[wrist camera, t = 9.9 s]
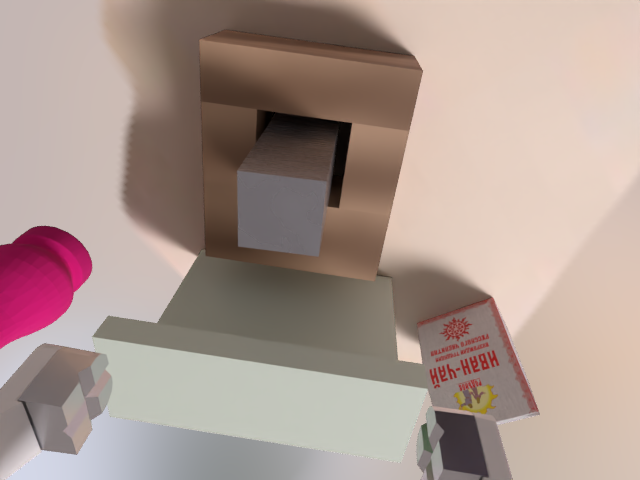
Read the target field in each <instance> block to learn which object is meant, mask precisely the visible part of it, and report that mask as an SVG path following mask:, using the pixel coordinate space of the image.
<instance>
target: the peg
mask: <svg viewBox="0 0 640 480" xmlns="http://www.w3.org/2000/svg"><path fill="white" fill-rule="evenodd" d="M339 125H340V121H335V120H328V119H321V118H314V117H307V116H300V115H293V114H286V113H279V112H276V114H275V115H274V117H273V118H272V120H271V121H270V123H269V124H268V126H267V127H266V129H265V130H264V132H263V133H262V135H261V136H260V138H259V139H258V141H257V142H256V144H255V145H254V146H253V148H252V149H251V151H250V152H249V154H248V155H247V157H246V158H245V160H244V161H243V163H242V164H241V166H240V167H239V169H238V170H237V201H238V246H239V247H246V248H254V249H262V250H270V251H278V252H285V253H293V254H301V255H309V256H317V257H319V252H320V247H321V241H322V236H323V230H324V224H325V219H326V213H327V207H328V202H329V196H330V190H331V185H332V179H333V173H334V168H335V160H336V152H337V143H338V134H339Z"/></svg>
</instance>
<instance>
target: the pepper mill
mask: <svg viewBox="0 0 640 480" xmlns="http://www.w3.org/2000/svg"><path fill="white" fill-rule="evenodd" d="M91 271H92V261H91V258H90V256H89V253H88V251H87V250H86V248H85V247H84V246H83V244H82V243H81V242H80V241H78V240H77V239H76V238H75V237H74V236H72V235H71V234H69V233H68V232H66V231H63V230H61V229H58V228H56V227H50V226H37V227H33V228H31V229H29V230H28V231H26V232H25V233H24V234H22V235H21V236H20V237H18V238H17V239H16V240H15V241H14V242H13V243H12V244H6V245H0V349H1V348H2V347H4V346H5V345H7V344H8V343H10V342H12V341H14V340H16V339H19V338H21V337H23V336H26V335H29V334H32V333H34V332H36V331H38V330H40V329H42V328H45V327H46V326H48V325H50V324H52V323H53V322H54V321H56V320H57V319H58V318H59V317H60V316H61V315H62V314H64V313H65V312H66V311H67V309H68V308H69V307H70V305H71V302H72V300H73V294H74V292H75V291H76V290H78V289H79V288H80V286H81V285H82V284H83V283H84V282H85V281H86V280H87V279H88V277H89V276H90V274H91Z"/></svg>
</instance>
